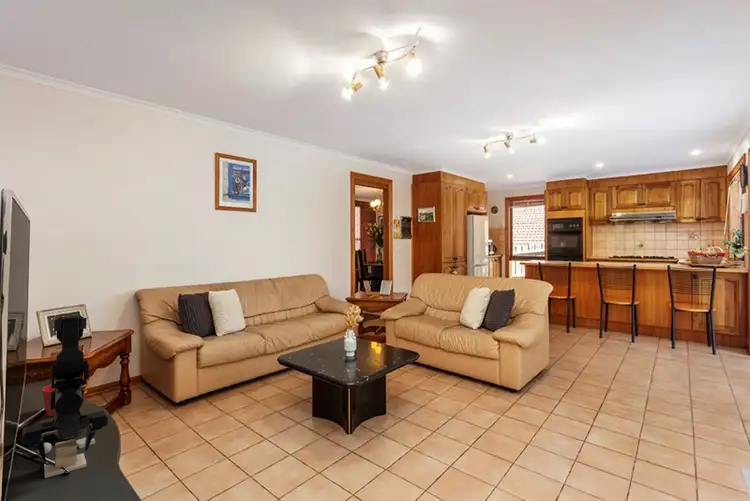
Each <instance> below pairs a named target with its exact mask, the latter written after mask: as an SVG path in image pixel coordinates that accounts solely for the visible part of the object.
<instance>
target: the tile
mask: <svg viewBox="0 0 750 501" xmlns="http://www.w3.org/2000/svg"><path fill="white" fill-rule="evenodd" d="M85 440H86V436H85V437H83V438H79V439H77V440H76V443H77V447H78V448H79V449H83V448H85ZM95 443H96V439H95V438H94V437H93V438H92V440H91V443H90V445H89V446H91V445H94V444H95Z"/></svg>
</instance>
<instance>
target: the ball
mask: <svg viewBox="0 0 750 501" xmlns="http://www.w3.org/2000/svg"><path fill="white" fill-rule="evenodd" d="M44 447H45V455H46V454H48V453H50V451H51V450H52V444H51V443H49V442H44ZM37 453H38V454H39V455H40V453H39V451H38V450H37Z"/></svg>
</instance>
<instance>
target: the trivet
mask: <svg viewBox="0 0 750 501" xmlns="http://www.w3.org/2000/svg"><path fill="white" fill-rule="evenodd" d="M53 461H54V462H55V460H53ZM85 467H87V460H86V457H85V453H84V452H82V453H80V454H79V453H78V454H77V455H76V464H75V465H71V466H68V467H65V468H66V469H65V470H68V471H69V472H72V471H76V470H79V469H82V468H85ZM65 470H63V469H57V470H55V467H53V466H50V465H46V464H43V471H44V478H45V479H47V478H51V477H54V476H58V475H61V474H64V471H65Z"/></svg>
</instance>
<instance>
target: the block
mask: <svg viewBox="0 0 750 501" xmlns="http://www.w3.org/2000/svg"><path fill="white" fill-rule="evenodd" d="M76 441H77V440H76V438H72V439H67V440H64V441H59V442H56V443H55V448H54V461H55V470H57V469H60V468H61V467H68V466H71V465H75V464H76V455H78V453H77V452H78V451H77V450H78V448H77V443H76Z"/></svg>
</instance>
